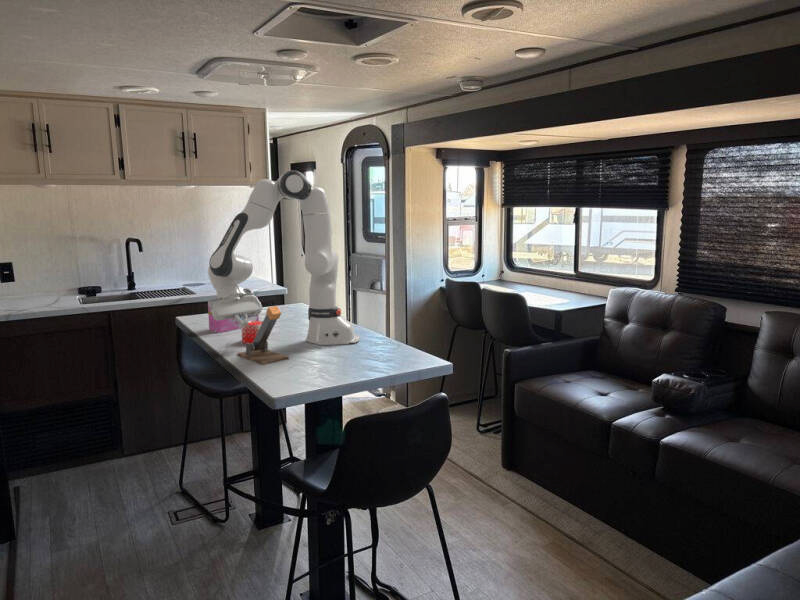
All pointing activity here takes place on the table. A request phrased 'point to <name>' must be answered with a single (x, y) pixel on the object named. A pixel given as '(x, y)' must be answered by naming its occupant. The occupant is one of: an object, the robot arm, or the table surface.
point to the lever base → (261, 354)
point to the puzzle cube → (250, 331)
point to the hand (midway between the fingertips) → (244, 324)
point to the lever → (266, 327)
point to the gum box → (227, 322)
